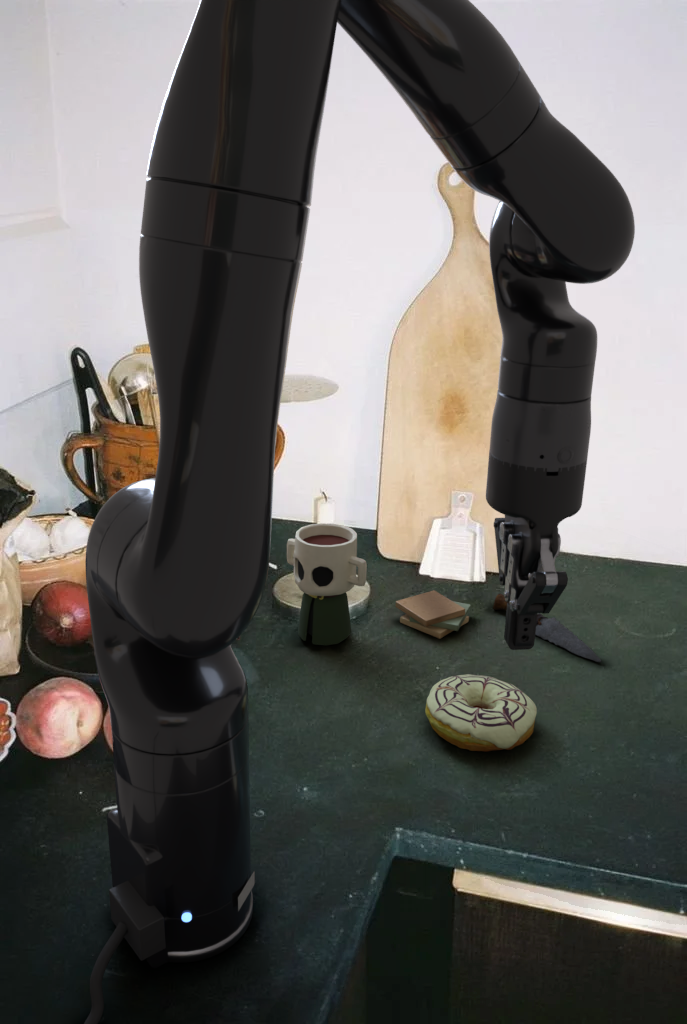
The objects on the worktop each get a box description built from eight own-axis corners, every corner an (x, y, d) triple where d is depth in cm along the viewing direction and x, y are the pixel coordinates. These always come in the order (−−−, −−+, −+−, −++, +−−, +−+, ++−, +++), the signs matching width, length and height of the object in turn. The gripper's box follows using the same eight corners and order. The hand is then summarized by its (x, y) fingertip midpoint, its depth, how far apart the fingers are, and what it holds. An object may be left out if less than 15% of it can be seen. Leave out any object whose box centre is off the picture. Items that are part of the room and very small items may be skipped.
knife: (487, 594, 117) (521, 578, 118) (489, 608, 118) (522, 592, 119) (566, 670, 103) (604, 651, 105) (568, 684, 105) (605, 665, 106)
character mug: (269, 634, 110) (268, 532, 105) (305, 612, 115) (305, 514, 111) (345, 663, 104) (348, 556, 100) (379, 638, 110) (384, 535, 105)
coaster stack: (442, 646, 108) (443, 627, 108) (386, 622, 113) (387, 605, 113) (483, 621, 114) (485, 603, 114) (429, 600, 119) (430, 583, 119)
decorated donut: (524, 770, 87) (528, 736, 85) (412, 745, 90) (414, 712, 89) (540, 711, 96) (544, 680, 95) (439, 691, 99) (441, 659, 98)
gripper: (471, 426, 79) (457, 611, 85) (514, 477, 66) (495, 689, 73) (557, 425, 79) (538, 608, 86) (616, 476, 67) (588, 685, 73)
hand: (518, 645), depth 79 cm, fingers closed
